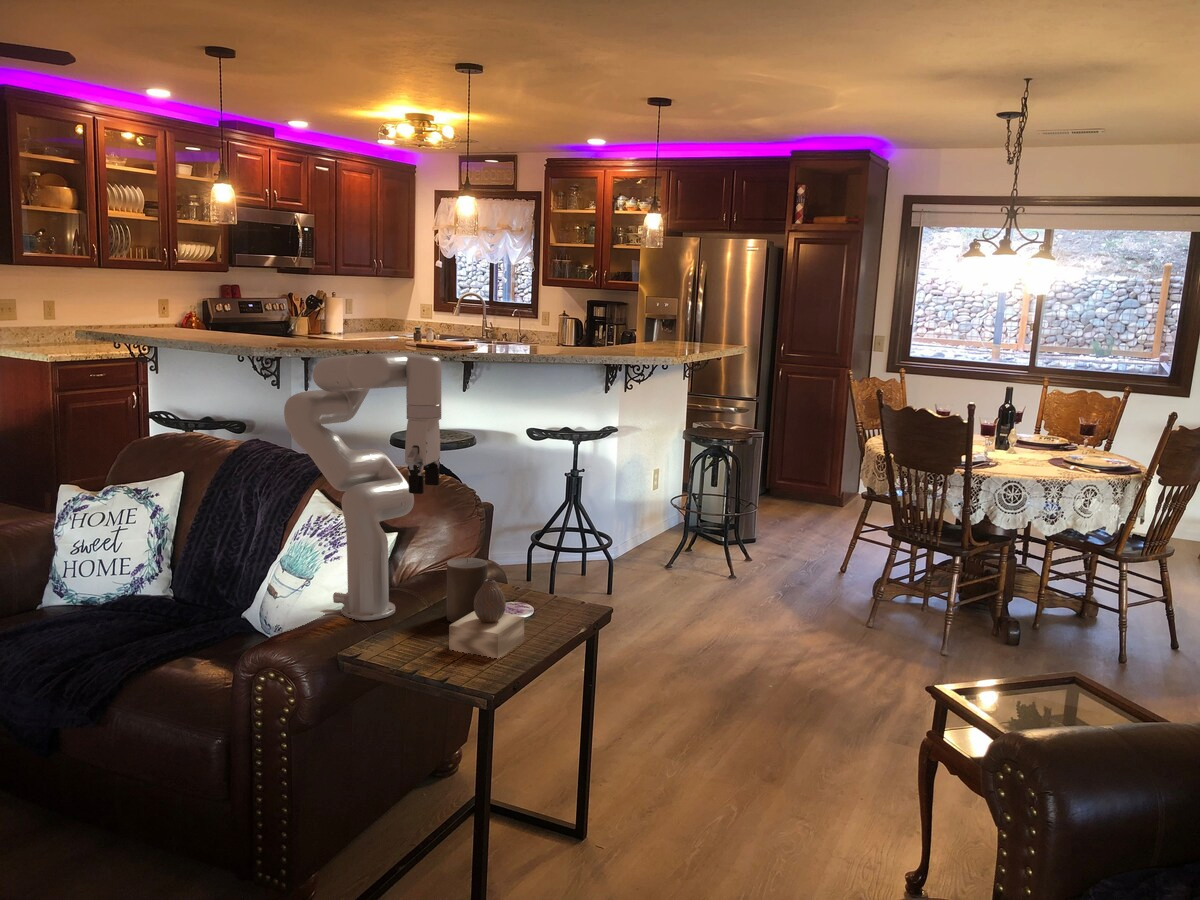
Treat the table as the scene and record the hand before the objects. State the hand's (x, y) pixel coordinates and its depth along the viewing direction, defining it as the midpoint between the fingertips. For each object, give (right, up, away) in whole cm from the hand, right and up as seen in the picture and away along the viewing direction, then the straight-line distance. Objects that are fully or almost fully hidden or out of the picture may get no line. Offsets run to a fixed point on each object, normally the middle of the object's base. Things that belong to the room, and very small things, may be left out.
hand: (424, 489), depth 211 cm
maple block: (+14, -35, -1) cm, 37 cm away
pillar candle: (+7, -32, +16) cm, 36 cm away
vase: (+15, -29, -2) cm, 32 cm away
